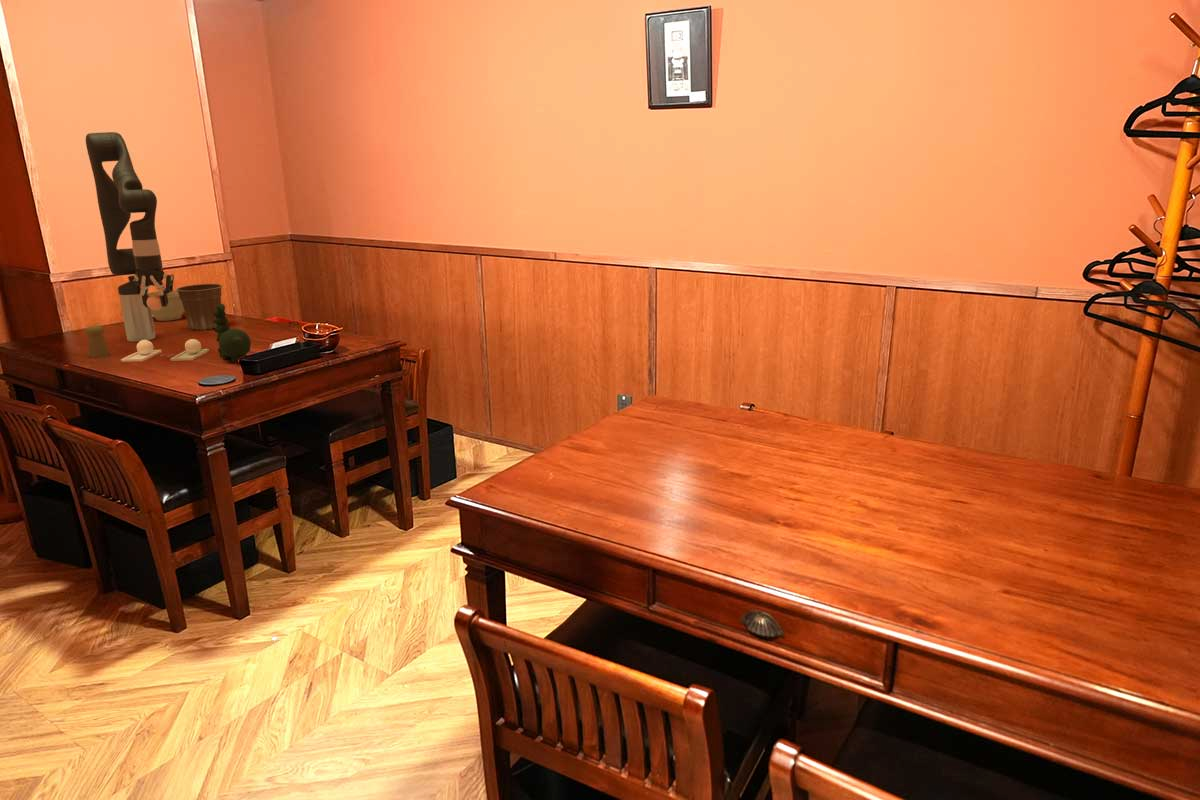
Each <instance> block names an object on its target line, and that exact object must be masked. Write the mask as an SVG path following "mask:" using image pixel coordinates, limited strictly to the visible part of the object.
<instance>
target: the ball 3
mask: <svg viewBox="0 0 1200 800" xmlns="http://www.w3.org/2000/svg"><path fill="white" fill-rule="evenodd" d="M184 349H185V351H187V352H189V353H191V354H195V353H198V352H199V351H200V349H202V344H201V342H200V341H199V340H198V339H196V338H195V339H194V338H191V339H188V340H186V341H185V344H184Z"/></svg>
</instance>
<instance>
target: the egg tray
mask: <svg viewBox="0 0 1200 800" xmlns="http://www.w3.org/2000/svg"><path fill="white" fill-rule="evenodd" d="M160 353H162V349H153V351H152V352H151V353H150V354H147V355H144V354H141V353H139V352H138V351H137V352H136V351H135V352H134V353H132V354H129V355H127V356H125V357H123V358H121V359H120V362H123V363H125V362H129V363H130V362H144V361H147V360H149V359H150V358H153V357H154V356H157V355H158V354H160Z"/></svg>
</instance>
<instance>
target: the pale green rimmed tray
mask: <svg viewBox="0 0 1200 800" xmlns="http://www.w3.org/2000/svg"><path fill="white" fill-rule="evenodd" d="M208 352H210V349H209V348H203V349H202V348H201V349H200V351H199V352H198V353H195V354H191V353H189V352H187V351H186V350H184V351H182V352H180V353H178V354H175V355H173V356H171V357H169V358H170V361H171V362H173V361H174V362H175V361H179V362H181V361H193V360H195V359H197V358H198V357H201V356H202V355H204V354H207V353H208Z"/></svg>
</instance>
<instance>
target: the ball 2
mask: <svg viewBox="0 0 1200 800" xmlns="http://www.w3.org/2000/svg"><path fill="white" fill-rule="evenodd" d="M147 306H148V307H149V308H150V309H152V310H160V309H161V308H162V304H161V298H160V296H159V295H151V296H150V297H148V299H147Z"/></svg>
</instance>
